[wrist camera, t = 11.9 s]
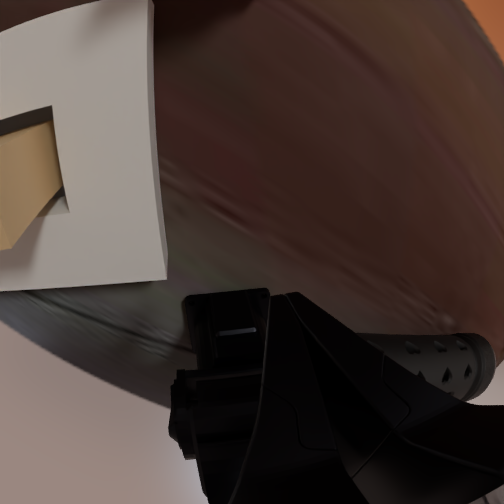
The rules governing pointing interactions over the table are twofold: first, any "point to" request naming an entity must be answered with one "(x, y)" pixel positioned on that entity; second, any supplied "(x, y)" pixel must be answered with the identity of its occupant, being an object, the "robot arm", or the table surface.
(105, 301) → the table surface
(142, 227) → the socket plate
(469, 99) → the table surface
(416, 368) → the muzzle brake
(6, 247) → the plug
